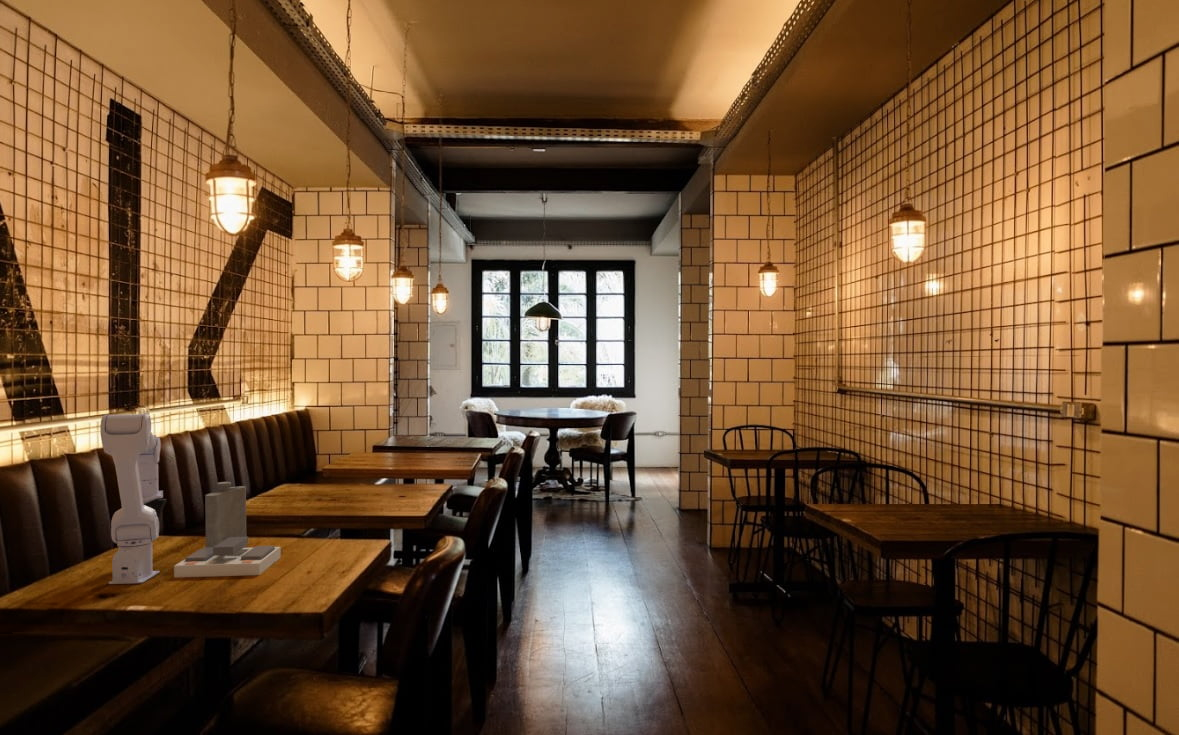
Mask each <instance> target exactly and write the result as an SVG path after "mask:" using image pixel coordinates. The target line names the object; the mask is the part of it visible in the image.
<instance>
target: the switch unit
mask: <svg viewBox="0 0 1179 735" xmlns="http://www.w3.org/2000/svg"><path fill="white" fill-rule="evenodd" d="M252 548H253V547H244V548H243V549H241V550H240V551H238V552H237V553H235V554H234V555H220V556H213V557H212V558H210V559H209V560H207V561H189V562H185V559H183V560H181V561H180V562H178V563H176V564H175V565H174V566H173V568H174V569H173V570H174V571H173V576H174V578H199V577H200V578H201V577H202V578H203V577H229V576H230V577H231V576H233V577H235V576H236V577H237V576H239V577H240V576H260V575H261V574H263V573H264V572H265V571H266V570H267V569H268V567H269V568H270V567H271V566H272V565H273V564H274V562H275V563H276V562H277V561H279V559H281V558H280V557H282V556H281V553H282V552H281V550H282V549H281V548H282V547H281V546H274V549H275V550H273V551H272V552H271V553H269V554H268V555H267V556H266V557H264V558H263V559H262V560H241V556H242V555H244V554H245V553H247V552H248V551H250V550H251V549H252Z"/></svg>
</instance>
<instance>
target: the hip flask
mask: <svg viewBox="0 0 1179 735" xmlns="http://www.w3.org/2000/svg"><path fill="white" fill-rule="evenodd" d="M216 484H217V485H216V486H217V491H213V492H210V493H207V494H205V495H204V496H205V497H204V498H205V502H204V505H205V547H214V546H216V545H218V544H219V543H221V542H223V541H224V540H226V539H227V538H229V537H247V486H245V485H244V486H243V485H239V486H232V482H231V481H221V482H220V481H219V482H217V483H216Z"/></svg>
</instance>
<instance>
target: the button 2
mask: <svg viewBox="0 0 1179 735" xmlns="http://www.w3.org/2000/svg"><path fill="white" fill-rule="evenodd" d="M274 547H275V545H255V546H254V547H251V548H252V549H251V550H250V551H248V552H247V553H245V554H244V555H242V556H241V560H262V559H263V558H264V557H266V556H267V555H268V554H269V553H271V552H272V551H273V550H275V549H274Z"/></svg>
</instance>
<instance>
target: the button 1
mask: <svg viewBox="0 0 1179 735" xmlns="http://www.w3.org/2000/svg"><path fill="white" fill-rule="evenodd" d="M212 557H213V547H206V546H205V547H204V546H203V547H202V548H200V549H198V550H195V552H193V553H191V554H190V555H188V556H186V557H185V558H184V560H185V562H189V561H207V560H209V559H210V558H212Z"/></svg>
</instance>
